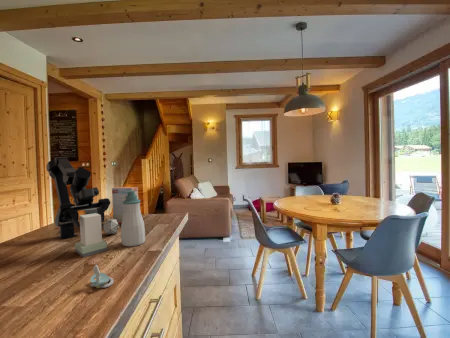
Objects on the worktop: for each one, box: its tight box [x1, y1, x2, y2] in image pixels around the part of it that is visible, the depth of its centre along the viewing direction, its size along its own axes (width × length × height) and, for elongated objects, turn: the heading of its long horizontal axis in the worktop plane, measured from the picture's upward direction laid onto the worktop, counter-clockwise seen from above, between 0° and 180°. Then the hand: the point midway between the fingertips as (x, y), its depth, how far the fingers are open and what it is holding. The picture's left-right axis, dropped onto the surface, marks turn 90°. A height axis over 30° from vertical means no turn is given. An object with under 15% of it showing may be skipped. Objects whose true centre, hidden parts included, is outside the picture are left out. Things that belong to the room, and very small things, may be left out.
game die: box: [101, 217, 121, 237], centre depth 122 cm, size 9×8×10 cm
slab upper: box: [74, 238, 108, 254], centre depth 100 cm, size 9×9×2 cm
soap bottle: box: [120, 191, 146, 247], centre depth 108 cm, size 10×10×23 cm
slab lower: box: [75, 246, 109, 258], centre depth 100 cm, size 9×9×2 cm
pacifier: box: [90, 264, 114, 289], centre depth 72 cm, size 7×6×6 cm
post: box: [79, 213, 103, 246], centre depth 100 cm, size 6×6×11 cm
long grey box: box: [84, 201, 104, 226], centre depth 143 cm, size 25×8×11 cm, turn 27°
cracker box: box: [111, 186, 139, 225], centre depth 143 cm, size 14×6×21 cm, turn 71°
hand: (91, 224), depth 99 cm, fingers open, 9 cm apart
